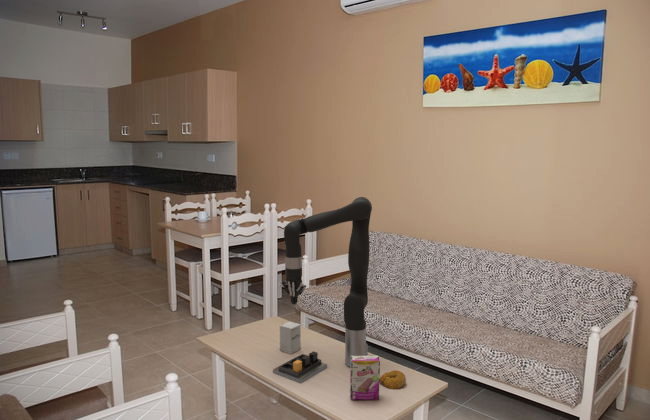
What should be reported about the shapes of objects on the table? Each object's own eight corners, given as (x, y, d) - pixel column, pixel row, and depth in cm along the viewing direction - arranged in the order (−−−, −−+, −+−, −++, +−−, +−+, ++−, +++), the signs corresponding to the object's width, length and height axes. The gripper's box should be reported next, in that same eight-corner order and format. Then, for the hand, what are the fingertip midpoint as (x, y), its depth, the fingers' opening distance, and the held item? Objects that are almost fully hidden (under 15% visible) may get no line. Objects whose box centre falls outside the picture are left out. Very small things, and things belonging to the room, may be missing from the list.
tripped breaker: (293, 373, 210) (292, 362, 209) (297, 370, 212) (297, 359, 212) (297, 375, 209) (297, 363, 208) (301, 372, 211) (301, 361, 210)
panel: (272, 372, 215) (272, 358, 214) (299, 358, 229) (299, 344, 228) (301, 383, 205) (301, 367, 204) (327, 367, 219) (327, 353, 218)
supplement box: (291, 354, 233) (290, 328, 231) (279, 350, 237) (279, 325, 236) (301, 349, 239) (301, 324, 237) (289, 345, 243) (289, 320, 242)
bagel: (383, 375, 212) (383, 365, 211) (408, 381, 207) (408, 370, 206) (375, 386, 203) (375, 375, 202) (401, 392, 198) (401, 381, 197)
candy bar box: (350, 401, 191) (351, 360, 189) (349, 394, 196) (349, 355, 194) (379, 400, 191) (380, 360, 189) (377, 393, 196) (378, 354, 194)
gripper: (310, 266, 219) (310, 304, 222) (288, 262, 227) (288, 298, 230) (299, 270, 213) (300, 308, 216) (277, 265, 221) (277, 303, 224)
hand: (294, 303), depth 223 cm, fingers closed
